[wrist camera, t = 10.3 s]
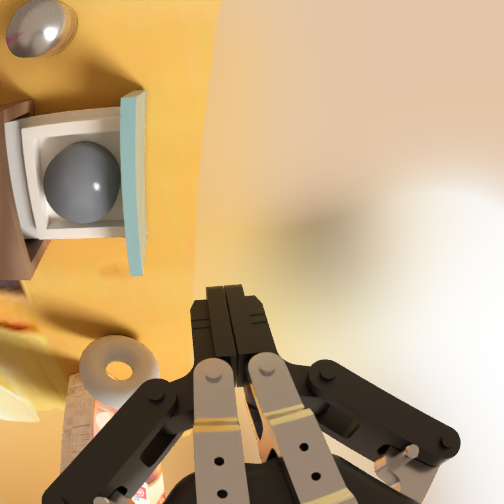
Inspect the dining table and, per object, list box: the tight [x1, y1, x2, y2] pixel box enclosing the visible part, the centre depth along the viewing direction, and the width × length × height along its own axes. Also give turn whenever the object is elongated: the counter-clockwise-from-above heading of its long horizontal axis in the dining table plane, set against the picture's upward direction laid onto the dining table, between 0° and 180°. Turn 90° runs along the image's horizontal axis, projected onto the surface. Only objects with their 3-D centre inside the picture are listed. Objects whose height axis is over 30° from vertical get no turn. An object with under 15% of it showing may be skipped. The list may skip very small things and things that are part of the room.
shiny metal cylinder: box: [6, 0, 78, 58], centre depth 14 cm, size 5×5×4 cm
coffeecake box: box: [60, 372, 165, 504], centre depth 35 cm, size 15×7×20 cm, turn 22°
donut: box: [79, 335, 160, 409], centre depth 32 cm, size 10×3×10 cm, turn 69°
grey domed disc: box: [43, 141, 121, 224], centre depth 21 cm, size 6×6×2 cm
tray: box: [4, 90, 147, 276], centre depth 20 cm, size 17×14×6 cm
